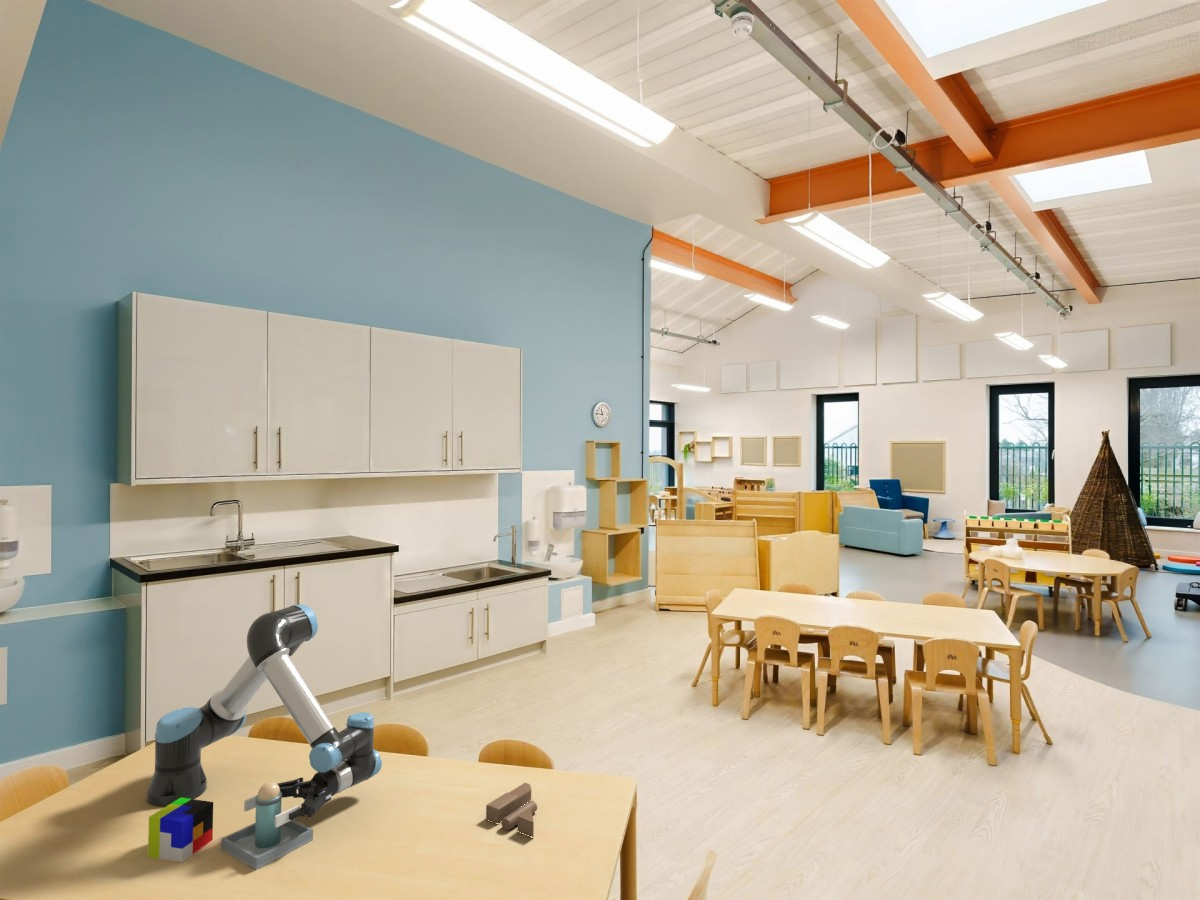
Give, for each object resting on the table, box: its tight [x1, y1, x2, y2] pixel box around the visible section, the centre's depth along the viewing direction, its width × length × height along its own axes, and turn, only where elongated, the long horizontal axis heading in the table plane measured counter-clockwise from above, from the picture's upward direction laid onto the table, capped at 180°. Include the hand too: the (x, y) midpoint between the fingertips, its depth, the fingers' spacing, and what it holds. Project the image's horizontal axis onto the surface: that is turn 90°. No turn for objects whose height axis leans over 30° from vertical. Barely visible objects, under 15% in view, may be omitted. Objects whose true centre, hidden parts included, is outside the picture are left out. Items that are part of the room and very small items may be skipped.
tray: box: [220, 819, 314, 871], centre depth 177 cm, size 16×16×3 cm
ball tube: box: [254, 781, 283, 848], centre depth 177 cm, size 6×6×15 cm
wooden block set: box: [485, 782, 538, 838], centre depth 193 cm, size 17×6×18 cm
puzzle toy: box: [147, 798, 214, 863], centre depth 175 cm, size 10×10×10 cm
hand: (259, 813), depth 175 cm, fingers open, 13 cm apart
